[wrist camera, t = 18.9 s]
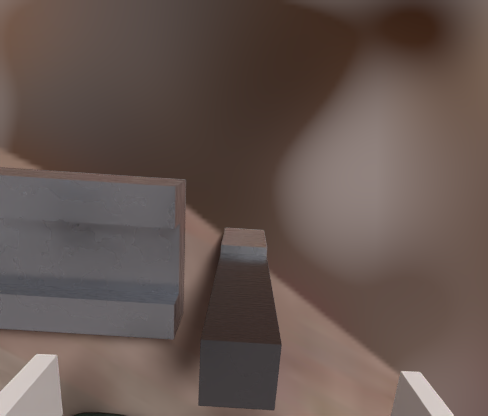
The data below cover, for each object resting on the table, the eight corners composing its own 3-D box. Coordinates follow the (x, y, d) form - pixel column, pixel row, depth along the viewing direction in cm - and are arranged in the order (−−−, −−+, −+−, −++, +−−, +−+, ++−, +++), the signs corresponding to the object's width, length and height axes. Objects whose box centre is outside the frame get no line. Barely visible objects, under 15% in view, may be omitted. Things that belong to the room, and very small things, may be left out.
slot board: (3, 301, 26) (-34, 326, 22) (-16, 166, 23) (-62, 171, 19) (183, 313, 26) (173, 339, 22) (185, 179, 23) (175, 186, 20)
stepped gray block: (222, 276, 25) (197, 417, 12) (225, 227, 24) (201, 326, 11) (259, 278, 25) (273, 421, 12) (263, 230, 24) (282, 331, 11)
